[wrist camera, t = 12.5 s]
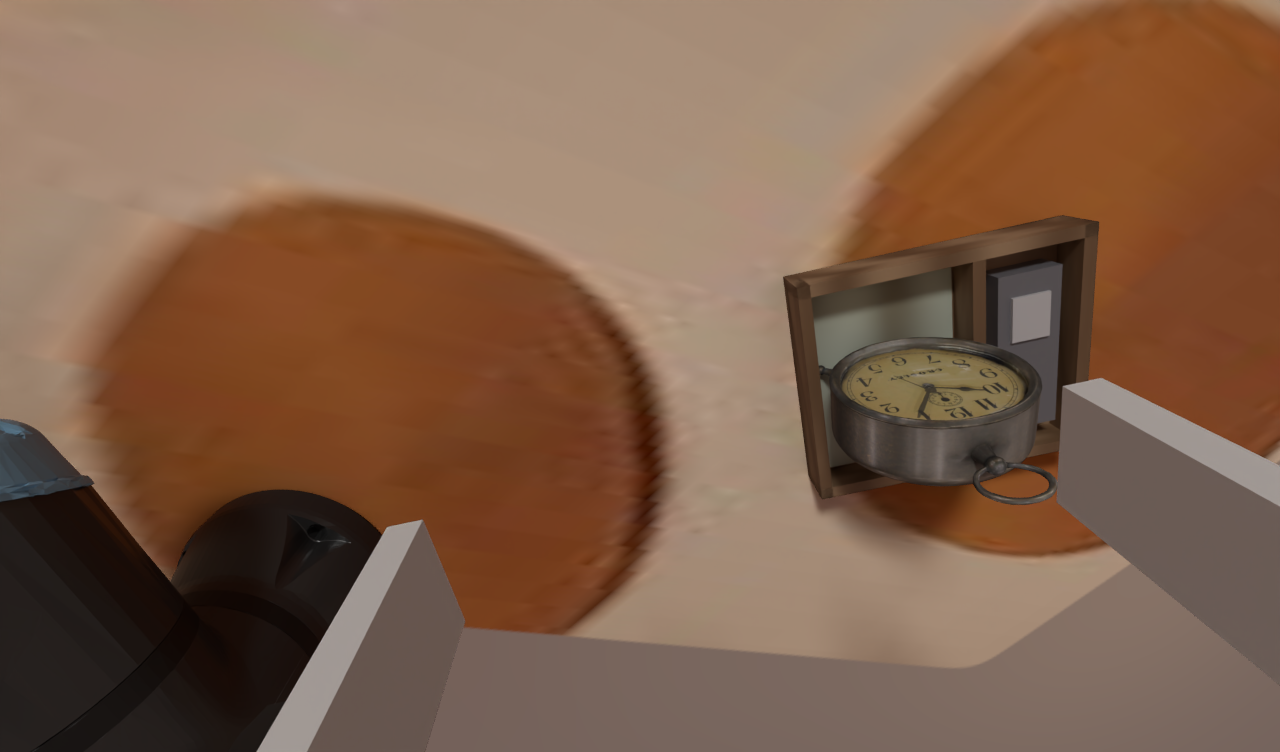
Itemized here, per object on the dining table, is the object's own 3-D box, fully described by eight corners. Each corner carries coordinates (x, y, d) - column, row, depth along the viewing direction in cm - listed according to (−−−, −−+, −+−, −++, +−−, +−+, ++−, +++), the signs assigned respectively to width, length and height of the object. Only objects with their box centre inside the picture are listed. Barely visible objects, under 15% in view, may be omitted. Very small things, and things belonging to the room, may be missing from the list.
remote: (980, 419, 44) (999, 433, 42) (980, 271, 40) (1000, 279, 37) (1036, 407, 43) (1057, 421, 41) (1041, 258, 39) (1065, 265, 37)
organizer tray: (808, 475, 46) (822, 499, 43) (783, 276, 40) (797, 288, 37) (1052, 425, 45) (1083, 445, 42) (1062, 215, 39) (1099, 221, 36)
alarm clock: (962, 319, 41) (1168, 427, 25) (960, 392, 43) (1150, 532, 27) (800, 348, 41) (910, 471, 26) (806, 419, 43) (911, 572, 28)
